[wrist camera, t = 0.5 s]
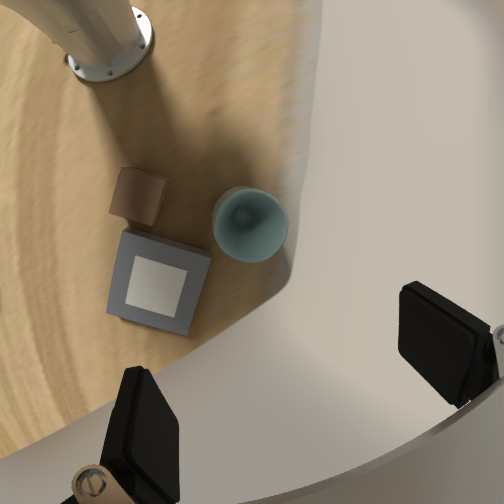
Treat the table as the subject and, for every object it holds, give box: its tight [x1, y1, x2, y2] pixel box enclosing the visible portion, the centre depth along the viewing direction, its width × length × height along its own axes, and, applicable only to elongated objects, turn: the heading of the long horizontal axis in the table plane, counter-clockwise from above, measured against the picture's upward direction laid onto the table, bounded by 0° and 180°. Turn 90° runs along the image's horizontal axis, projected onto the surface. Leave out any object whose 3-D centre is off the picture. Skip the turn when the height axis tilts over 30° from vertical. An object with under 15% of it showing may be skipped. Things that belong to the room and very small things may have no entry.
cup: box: [211, 186, 289, 263], centre depth 35 cm, size 8×8×10 cm
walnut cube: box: [109, 167, 170, 226], centre depth 34 cm, size 6×6×6 cm
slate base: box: [106, 227, 212, 336], centre depth 39 cm, size 12×12×3 cm
